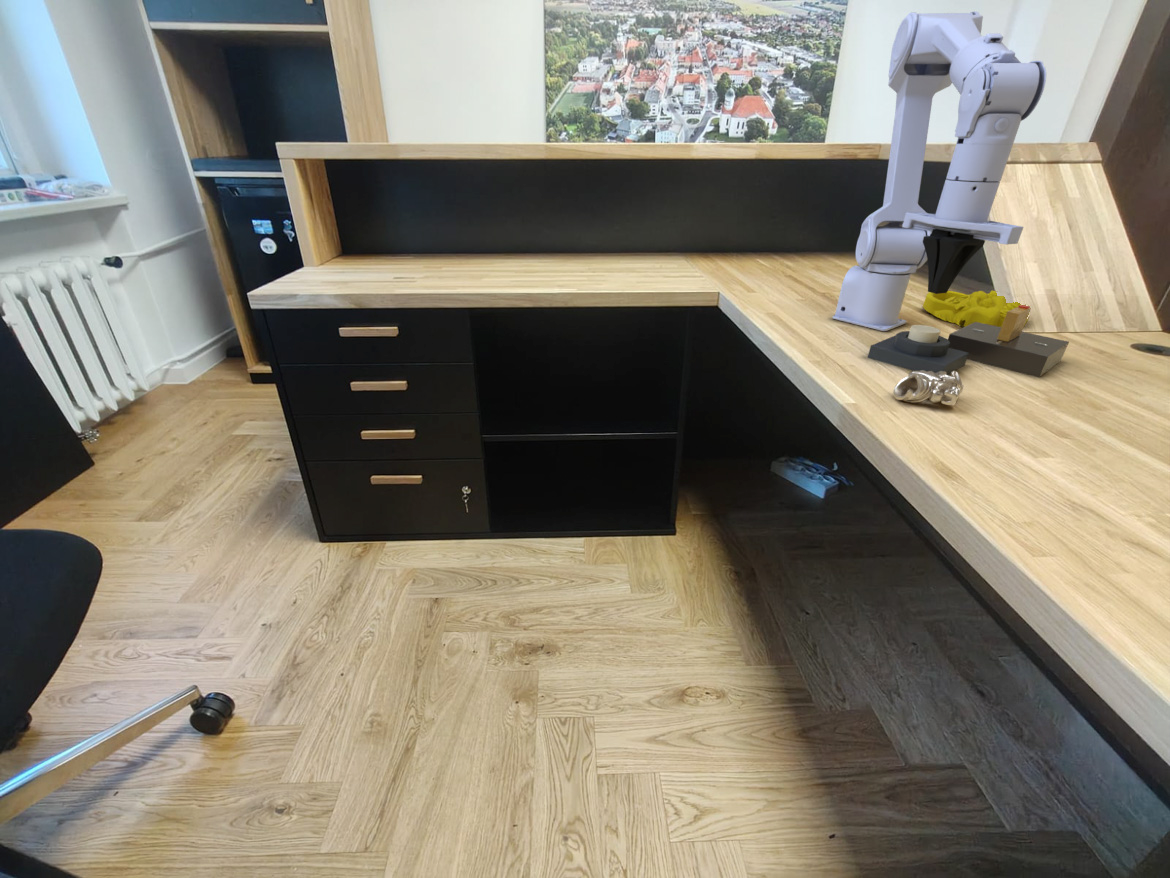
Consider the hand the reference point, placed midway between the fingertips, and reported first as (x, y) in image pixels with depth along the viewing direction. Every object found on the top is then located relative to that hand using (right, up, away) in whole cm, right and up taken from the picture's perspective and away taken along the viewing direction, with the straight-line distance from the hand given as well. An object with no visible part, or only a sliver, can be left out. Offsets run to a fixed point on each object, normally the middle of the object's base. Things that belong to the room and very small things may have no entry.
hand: (937, 292), depth 74 cm
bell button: (0, -6, +3) cm, 7 cm away
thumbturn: (+14, -5, +5) cm, 15 cm away
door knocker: (+23, +2, +26) cm, 35 cm away
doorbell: (0, -9, +5) cm, 10 cm away
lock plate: (+14, -8, +7) cm, 17 cm away
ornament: (-6, -15, -7) cm, 18 cm away
